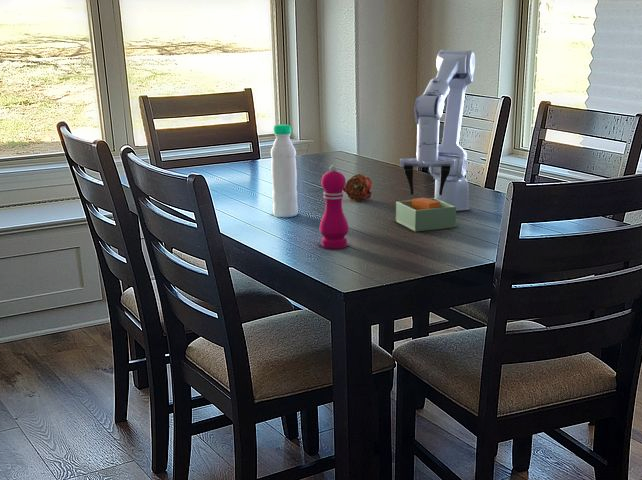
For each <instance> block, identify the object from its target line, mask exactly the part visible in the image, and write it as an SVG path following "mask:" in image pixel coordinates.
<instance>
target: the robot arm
mask: <svg viewBox="0 0 642 480" xmlns="http://www.w3.org/2000/svg"><path fill="white" fill-rule="evenodd" d="M435 62H436V63H435V65H436V69H437V73H436V76H435V77H433V78H431V79H430V80H429V81H428V84H427V86H426V88H425V90H424V92H423V93H422V94H421V95H419V96H418V97H416V99H415V102H414V108H413V111H414V116H415V117H414V118H415V125H416V126H417V127H416V128H417V129H416V132H417V133H416V157H413V158H412V157H411V158H399V168H403V172H404V175H405V176H406V179H407V182H408V185H409V190H410V195H414V168H428V169H429V173H430V176H432V177H433V180H434V198H437V199H439V200H442V201H444V202H446V203H449V204H451V205H453V206H455V207H456V212H463V211H469V210H470V207H469V193H470V192H469V189H470V187H469V182H468V180H467V179H466V178H465V177H466V174H467V170H468V169H467V168H468V153H467V152H466V150H465V149H464V148H463V147H462V146H461V145H460V136H461V128H462V120H463V113H464V106H465V105H464V104H465V97H466V91H467V88H468V85H470V84H472V83H473V79H474V75H475V68H476V54H475V53H474V51H473V50H472V49H469V50H453V49H451V50H449V49H448V50H447V49H440V50H438V53H437V55H436V61H435ZM446 98H447V99H446ZM445 100H447V101H446V107H445ZM444 107H445V108H446V110H445V117H444V123H443V133H442V142H441V143H440V119H441V118H442V116H443V112H444V111H443V110H444ZM439 143H440V144H439Z"/></svg>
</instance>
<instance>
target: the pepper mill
mask: <svg viewBox="0 0 642 480" xmlns="http://www.w3.org/2000/svg"><path fill="white" fill-rule="evenodd" d="M337 170H338V166H337V165H336V164H331V165H330V166H329V171H327V172H325V173H324V174H323V175H322V177H321V181H320V184H321V187H322V189H323V190H324V191H323V192H322V193H323V199H324V200H325V210H324V213H323V215H322V218H321V220H320V223H319V233H320V234H321V236H323V237H322V238H321V247H322V248H325V249H330V250H338V249H339V250H340V249H344V248H346V247H347V246H348V240H347V237H346V235H347V234H348V233H349V230H350V229H349V223H348V219H347V218H346V216H345V213H344V211H343V199H344V197H345V196H344V194H345V192H344V191H343V189H344V188H345V185H346V183H347V181H346V177H345V175H344V174H343V173H342V172H340V171H337Z"/></svg>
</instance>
